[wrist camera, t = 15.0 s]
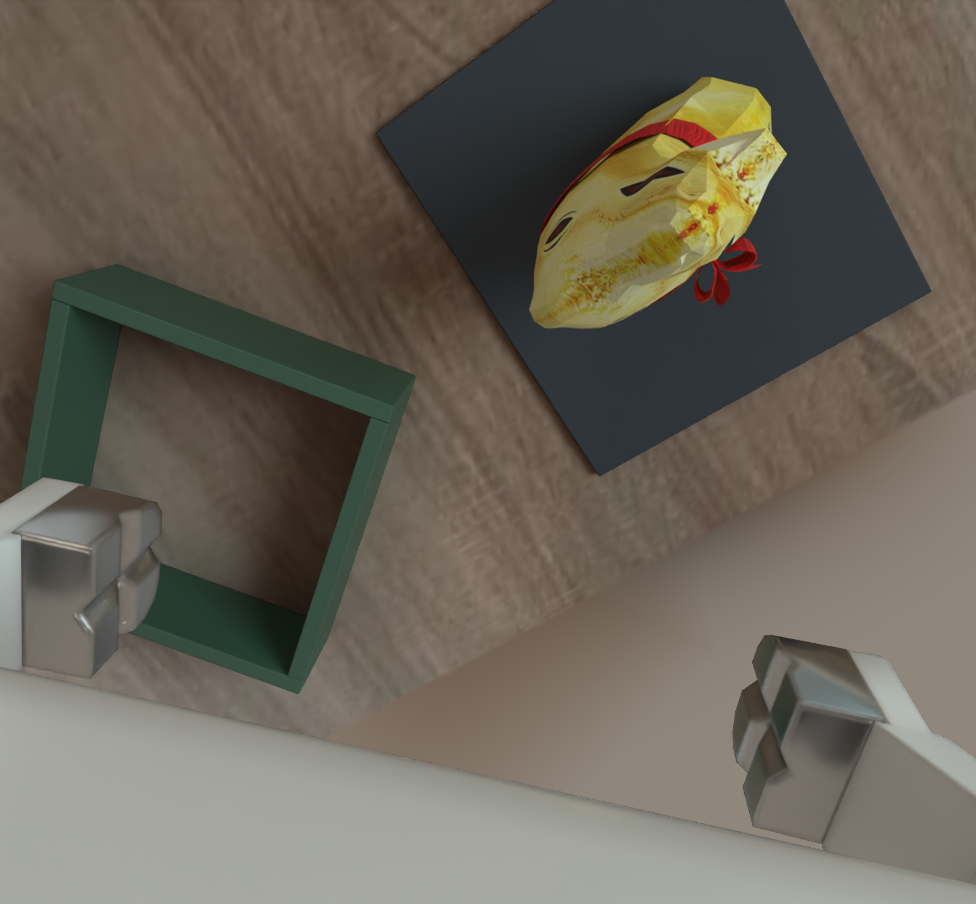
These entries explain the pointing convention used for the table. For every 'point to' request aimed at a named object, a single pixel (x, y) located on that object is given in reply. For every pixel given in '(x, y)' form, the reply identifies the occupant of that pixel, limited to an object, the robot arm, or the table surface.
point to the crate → (252, 347)
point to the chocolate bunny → (658, 209)
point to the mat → (679, 316)
